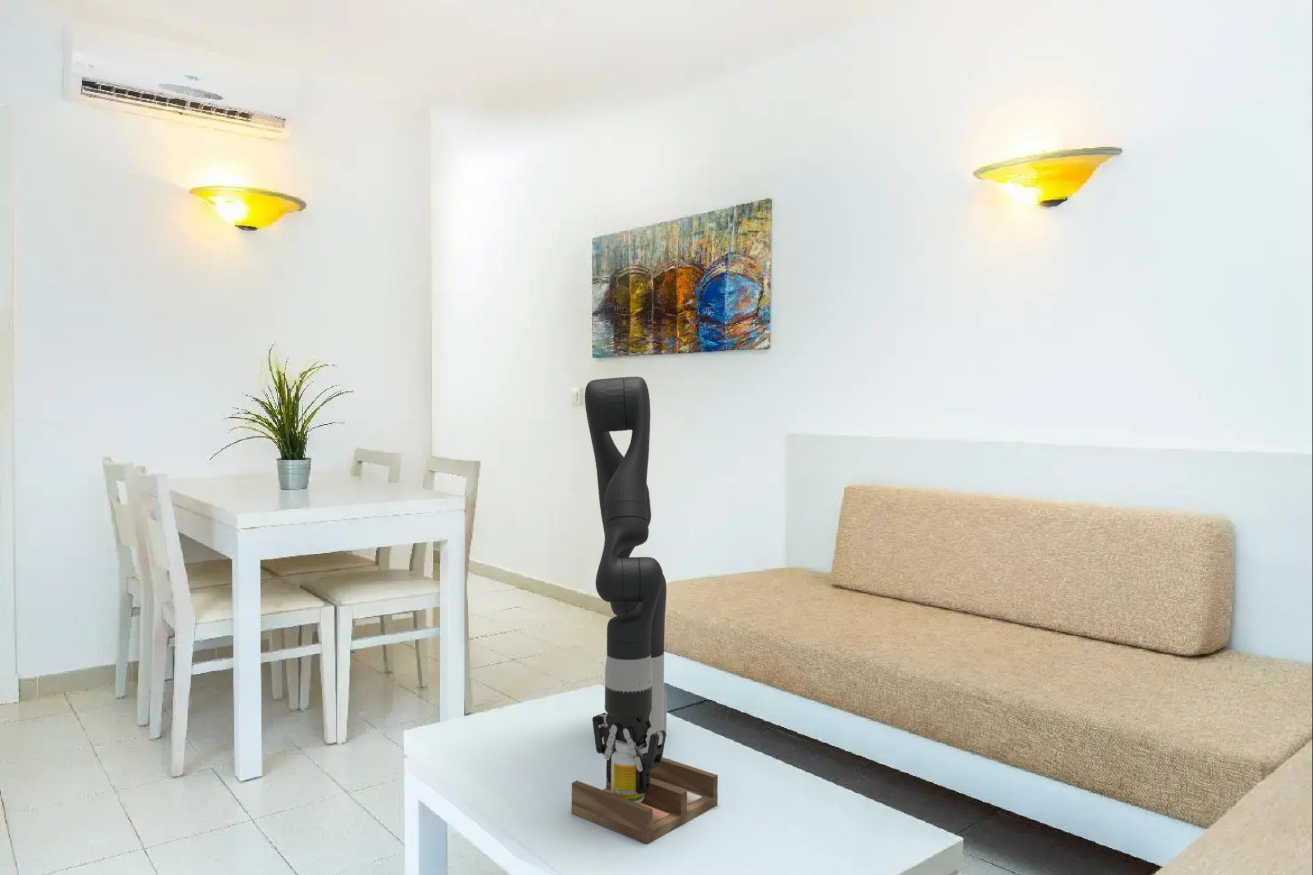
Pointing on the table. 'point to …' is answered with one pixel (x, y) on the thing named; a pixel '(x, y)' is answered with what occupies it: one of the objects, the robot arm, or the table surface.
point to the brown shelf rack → (650, 802)
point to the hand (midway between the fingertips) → (627, 786)
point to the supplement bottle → (624, 773)
